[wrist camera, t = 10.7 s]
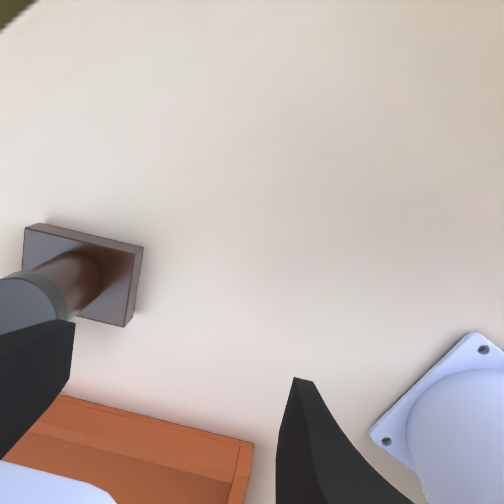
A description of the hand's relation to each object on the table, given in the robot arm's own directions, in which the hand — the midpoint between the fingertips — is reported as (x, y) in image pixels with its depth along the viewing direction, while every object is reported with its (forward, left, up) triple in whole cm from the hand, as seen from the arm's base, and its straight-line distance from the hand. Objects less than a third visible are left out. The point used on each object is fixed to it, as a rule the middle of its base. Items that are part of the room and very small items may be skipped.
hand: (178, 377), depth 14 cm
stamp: (+6, +4, -9) cm, 12 cm away
